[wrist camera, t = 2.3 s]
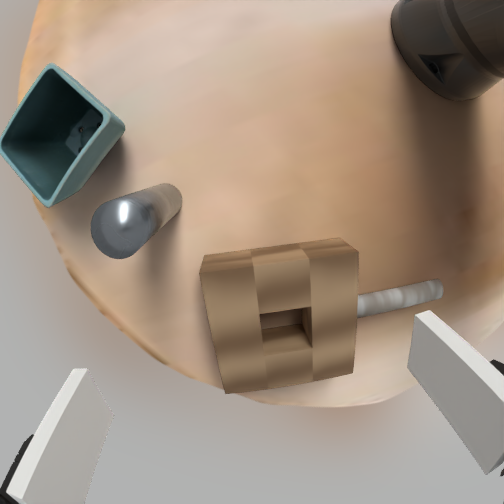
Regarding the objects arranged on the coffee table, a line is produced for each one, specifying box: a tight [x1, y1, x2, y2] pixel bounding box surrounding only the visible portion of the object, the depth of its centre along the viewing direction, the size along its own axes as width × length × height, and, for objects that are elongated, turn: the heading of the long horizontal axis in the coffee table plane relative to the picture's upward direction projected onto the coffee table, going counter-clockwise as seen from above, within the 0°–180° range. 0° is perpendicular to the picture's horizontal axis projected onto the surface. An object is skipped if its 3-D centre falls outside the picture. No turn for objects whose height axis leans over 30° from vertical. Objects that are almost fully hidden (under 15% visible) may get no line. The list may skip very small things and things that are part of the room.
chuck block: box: [199, 238, 443, 394], centre depth 30 cm, size 14×26×5 cm, turn 97°
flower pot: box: [0, 63, 125, 208], centre depth 21 cm, size 9×9×9 cm
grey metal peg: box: [91, 184, 182, 259], centre depth 22 cm, size 3×3×13 cm
